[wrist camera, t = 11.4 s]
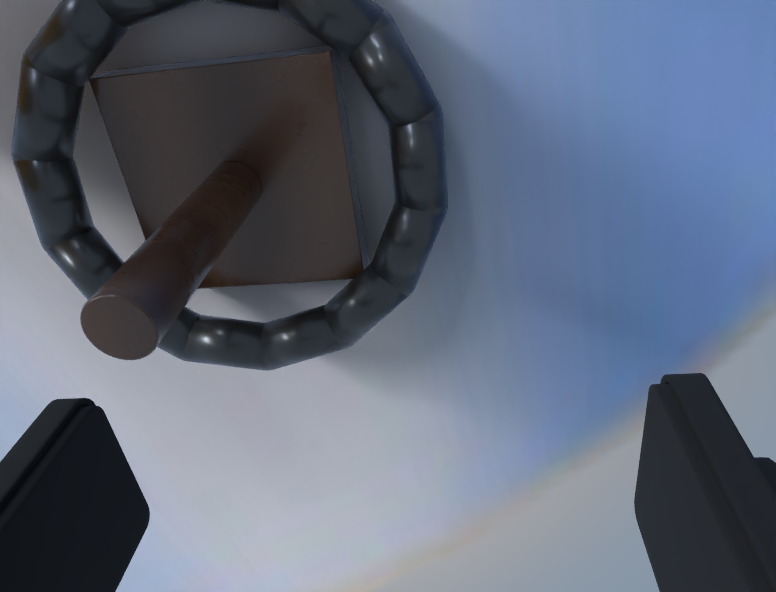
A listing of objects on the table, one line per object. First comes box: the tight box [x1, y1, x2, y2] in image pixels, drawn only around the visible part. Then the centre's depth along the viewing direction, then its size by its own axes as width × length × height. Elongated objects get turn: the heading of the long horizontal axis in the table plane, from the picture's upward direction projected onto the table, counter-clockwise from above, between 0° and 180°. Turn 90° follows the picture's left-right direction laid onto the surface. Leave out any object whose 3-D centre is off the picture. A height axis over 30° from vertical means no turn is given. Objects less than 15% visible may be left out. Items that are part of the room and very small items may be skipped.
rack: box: [80, 46, 369, 360], centre depth 20 cm, size 9×9×12 cm
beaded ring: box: [11, 0, 448, 370], centre depth 23 cm, size 16×16×2 cm
